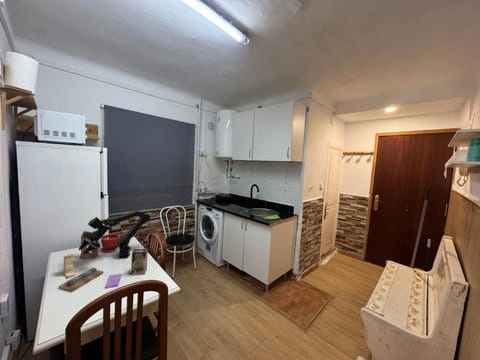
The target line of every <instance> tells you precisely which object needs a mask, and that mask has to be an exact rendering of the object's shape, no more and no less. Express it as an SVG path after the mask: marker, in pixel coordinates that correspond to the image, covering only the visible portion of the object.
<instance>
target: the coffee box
mask: <svg viewBox="0 0 480 360" xmlns="http://www.w3.org/2000/svg"><path fill="white" fill-rule="evenodd" d="M148 251H149V248H134V249H133V250H132V252H131V266H130V268H131V269H130V270H131V271H130V275H131V276H137V275H138V276H139V275H146V274H147V270H148V253H149V252H148Z"/></svg>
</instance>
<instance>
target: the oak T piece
mask: <svg viewBox="0 0 480 360" xmlns="http://www.w3.org/2000/svg"><path fill="white" fill-rule="evenodd" d="M61 272H62V273H63V274H64V276H65V277H66V279H68V280H69V279H72V278H74V277H76V273H75V272H74V254H73V252H71V253H70V252H69V253H66V254H63V268H62V270H61Z"/></svg>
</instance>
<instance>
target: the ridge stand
mask: <svg viewBox="0 0 480 360" xmlns="http://www.w3.org/2000/svg"><path fill="white" fill-rule="evenodd" d="M103 274H104V271H103V270H99V269H97V268H95V267H91V268H89V269H88V270H86V271H84V272H82V273H80V274H78V275H75V276H74V277H71V278H69V279H68V280H67V281H65V282H64V283H61V284H60V285H58V290H63V291H67V292H69V293H73V292H75V291H76V290H78V289H80V288H81V287H83V286H85V285H87V284H88V283H89V282H91V281H93V280H95V279H97V278H98V277H100V276H102V275H103Z"/></svg>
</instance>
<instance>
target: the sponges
mask: <svg viewBox="0 0 480 360" xmlns="http://www.w3.org/2000/svg"><path fill="white" fill-rule="evenodd" d="M121 278H122V273H117V274H116V273H115V274H110V275H108V278H107V280H106V283H105V286H104V288H105V289H110V288H117V287H119V285H120V281H121Z"/></svg>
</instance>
